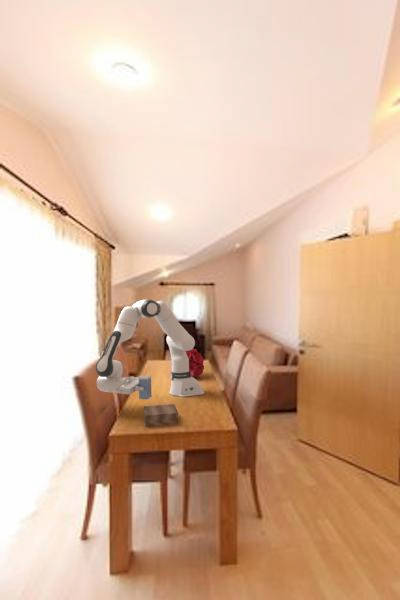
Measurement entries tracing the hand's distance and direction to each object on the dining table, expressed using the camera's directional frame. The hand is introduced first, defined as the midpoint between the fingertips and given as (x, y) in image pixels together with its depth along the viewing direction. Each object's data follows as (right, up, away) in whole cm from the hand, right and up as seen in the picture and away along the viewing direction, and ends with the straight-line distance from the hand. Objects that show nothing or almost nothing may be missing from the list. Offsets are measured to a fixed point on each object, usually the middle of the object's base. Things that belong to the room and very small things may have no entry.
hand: (146, 386), depth 196 cm
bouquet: (+21, -12, +79) cm, 82 cm away
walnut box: (+9, -14, -14) cm, 22 cm away
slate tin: (-1, -6, 0) cm, 6 cm away
